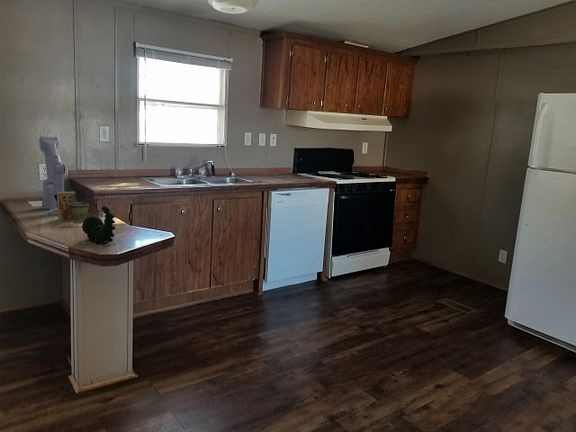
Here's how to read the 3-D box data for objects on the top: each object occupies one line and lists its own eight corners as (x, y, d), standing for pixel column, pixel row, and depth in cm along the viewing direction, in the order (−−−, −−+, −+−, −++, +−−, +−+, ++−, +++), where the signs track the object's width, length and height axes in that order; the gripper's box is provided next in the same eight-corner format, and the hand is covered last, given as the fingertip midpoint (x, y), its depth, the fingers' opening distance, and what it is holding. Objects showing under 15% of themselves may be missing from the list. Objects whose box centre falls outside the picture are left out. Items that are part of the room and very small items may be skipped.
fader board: (49, 214, 270) (49, 211, 269) (49, 212, 277) (49, 209, 276) (87, 213, 279) (87, 210, 278) (86, 210, 286) (86, 208, 285)
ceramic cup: (81, 224, 250) (81, 206, 248) (65, 222, 252) (64, 204, 250) (96, 219, 263) (95, 202, 261) (80, 218, 264) (80, 201, 263)
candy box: (74, 218, 264) (73, 191, 261) (76, 219, 261) (75, 192, 258) (57, 219, 259) (56, 192, 256) (59, 220, 255) (58, 193, 252)
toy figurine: (120, 248, 214) (94, 233, 230) (121, 208, 210) (95, 196, 226) (100, 251, 208) (75, 235, 223) (101, 210, 203) (75, 197, 219)
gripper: (44, 185, 266) (44, 208, 268) (72, 185, 272) (72, 208, 275) (44, 183, 272) (45, 206, 274) (72, 184, 278) (72, 206, 281)
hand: (58, 207), depth 275 cm, fingers closed, pressing on fader knob
